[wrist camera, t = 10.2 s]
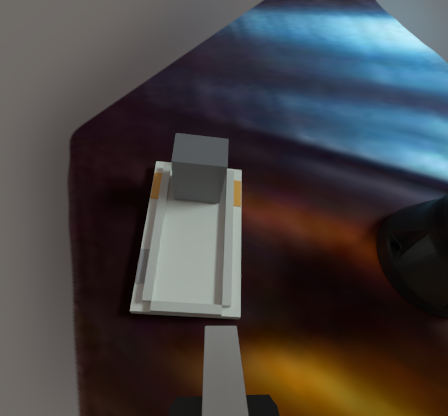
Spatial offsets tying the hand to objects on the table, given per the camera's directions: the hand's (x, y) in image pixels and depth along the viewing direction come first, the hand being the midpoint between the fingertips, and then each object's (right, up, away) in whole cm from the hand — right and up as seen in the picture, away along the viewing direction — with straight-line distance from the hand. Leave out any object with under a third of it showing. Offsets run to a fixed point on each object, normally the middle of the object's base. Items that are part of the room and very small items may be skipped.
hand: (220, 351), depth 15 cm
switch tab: (-3, +10, +26) cm, 28 cm away
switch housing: (-4, +3, +24) cm, 25 cm away
